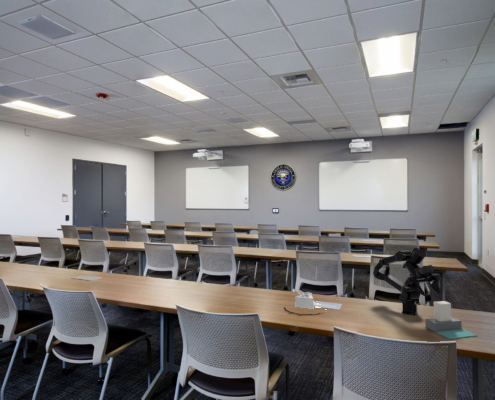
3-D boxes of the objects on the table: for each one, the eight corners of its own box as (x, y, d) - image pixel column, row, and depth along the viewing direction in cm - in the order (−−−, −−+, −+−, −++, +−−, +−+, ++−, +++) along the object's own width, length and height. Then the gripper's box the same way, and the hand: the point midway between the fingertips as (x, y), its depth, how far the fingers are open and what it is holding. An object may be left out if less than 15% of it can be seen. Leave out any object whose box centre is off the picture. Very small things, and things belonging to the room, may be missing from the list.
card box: (434, 318, 162) (433, 301, 162) (444, 317, 163) (444, 301, 163) (440, 321, 158) (439, 304, 158) (451, 320, 159) (450, 303, 159)
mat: (436, 332, 155) (436, 331, 155) (462, 329, 158) (462, 328, 158) (449, 339, 147) (449, 338, 147) (477, 336, 150) (477, 335, 150)
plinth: (425, 327, 162) (425, 318, 162) (450, 324, 165) (450, 316, 165) (435, 332, 156) (435, 323, 156) (461, 329, 158) (461, 320, 158)
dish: (324, 317, 181) (323, 296, 181) (279, 313, 190) (278, 292, 190) (331, 304, 203) (330, 285, 204) (290, 301, 213) (290, 283, 213)
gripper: (406, 261, 172) (424, 286, 161) (436, 258, 177) (456, 283, 165) (397, 274, 179) (413, 300, 168) (426, 272, 184) (444, 296, 172)
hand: (432, 294), depth 168 cm, fingers open, 9 cm apart
